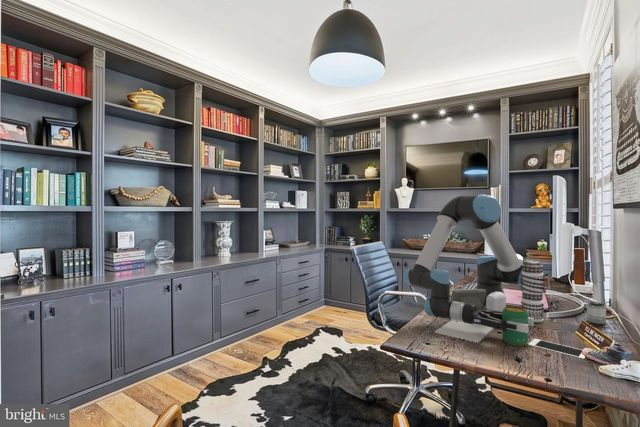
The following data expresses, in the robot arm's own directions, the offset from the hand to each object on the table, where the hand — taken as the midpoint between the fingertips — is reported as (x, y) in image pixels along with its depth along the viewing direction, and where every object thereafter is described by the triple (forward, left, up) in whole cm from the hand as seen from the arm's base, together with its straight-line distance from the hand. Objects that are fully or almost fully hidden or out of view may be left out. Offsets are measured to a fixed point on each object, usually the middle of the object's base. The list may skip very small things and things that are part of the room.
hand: (530, 325), depth 121 cm
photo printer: (-21, -17, -8) cm, 28 cm away
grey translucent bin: (-28, -31, -8) cm, 42 cm away
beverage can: (0, -5, -7) cm, 9 cm away
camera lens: (-47, +15, -8) cm, 50 cm away
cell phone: (-4, +7, -8) cm, 11 cm away
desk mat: (-2, -23, -7) cm, 24 cm away
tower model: (-34, -6, -8) cm, 35 cm away
